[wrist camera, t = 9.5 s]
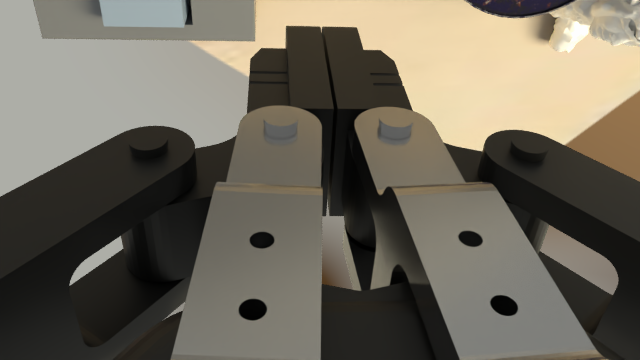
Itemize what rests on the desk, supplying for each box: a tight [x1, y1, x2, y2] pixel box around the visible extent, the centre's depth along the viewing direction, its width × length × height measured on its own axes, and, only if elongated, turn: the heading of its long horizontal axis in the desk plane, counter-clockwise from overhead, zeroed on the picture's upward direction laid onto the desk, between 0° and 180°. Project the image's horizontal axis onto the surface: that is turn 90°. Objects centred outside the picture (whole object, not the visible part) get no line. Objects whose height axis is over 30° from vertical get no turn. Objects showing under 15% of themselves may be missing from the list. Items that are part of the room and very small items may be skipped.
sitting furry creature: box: [549, 0, 640, 53], centre depth 39 cm, size 10×9×12 cm
